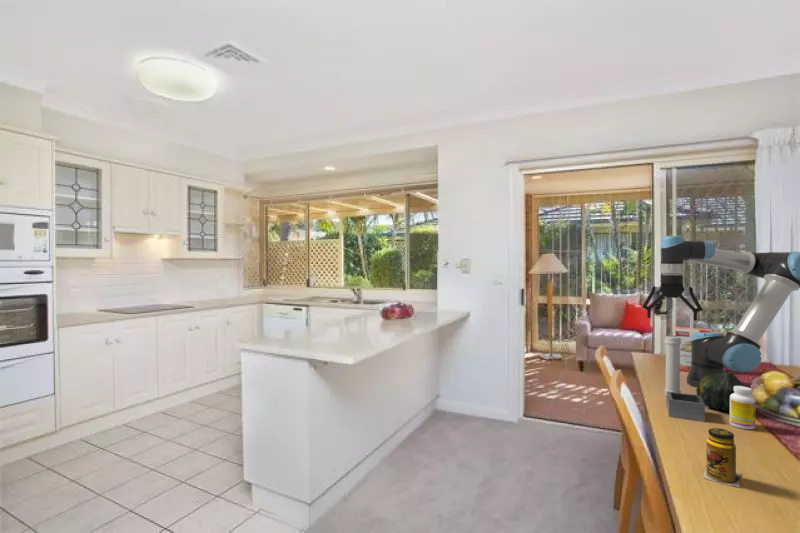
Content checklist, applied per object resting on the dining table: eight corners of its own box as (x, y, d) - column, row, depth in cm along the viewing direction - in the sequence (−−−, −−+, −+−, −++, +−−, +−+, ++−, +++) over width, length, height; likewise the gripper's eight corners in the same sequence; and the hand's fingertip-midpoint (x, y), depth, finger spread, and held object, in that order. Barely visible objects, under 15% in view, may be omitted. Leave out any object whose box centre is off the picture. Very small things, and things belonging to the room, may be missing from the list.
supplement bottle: (757, 431, 136) (757, 392, 135) (731, 427, 139) (731, 389, 139) (753, 424, 141) (753, 386, 141) (728, 420, 145) (728, 383, 144)
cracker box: (674, 370, 207) (675, 328, 207) (674, 367, 212) (674, 326, 212) (710, 374, 200) (710, 330, 199) (708, 371, 205) (709, 328, 205)
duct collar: (700, 411, 153) (700, 395, 153) (704, 421, 144) (704, 404, 144) (666, 407, 158) (666, 391, 158) (668, 416, 149) (668, 399, 149)
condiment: (702, 478, 108) (703, 432, 108) (705, 465, 115) (706, 422, 114) (739, 488, 103) (739, 440, 103) (740, 474, 110) (740, 428, 110)
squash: (690, 384, 168) (700, 362, 158) (735, 389, 163) (748, 367, 153) (697, 417, 158) (708, 396, 148) (746, 423, 153) (761, 402, 143)
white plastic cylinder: (683, 399, 166) (683, 323, 166) (665, 398, 168) (666, 323, 167) (677, 394, 172) (677, 321, 171) (660, 393, 173) (660, 321, 172)
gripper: (636, 274, 171) (635, 326, 172) (711, 275, 159) (711, 331, 160) (635, 273, 178) (635, 323, 178) (708, 274, 166) (707, 328, 166)
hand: (671, 327), depth 169 cm, fingers open, 13 cm apart
